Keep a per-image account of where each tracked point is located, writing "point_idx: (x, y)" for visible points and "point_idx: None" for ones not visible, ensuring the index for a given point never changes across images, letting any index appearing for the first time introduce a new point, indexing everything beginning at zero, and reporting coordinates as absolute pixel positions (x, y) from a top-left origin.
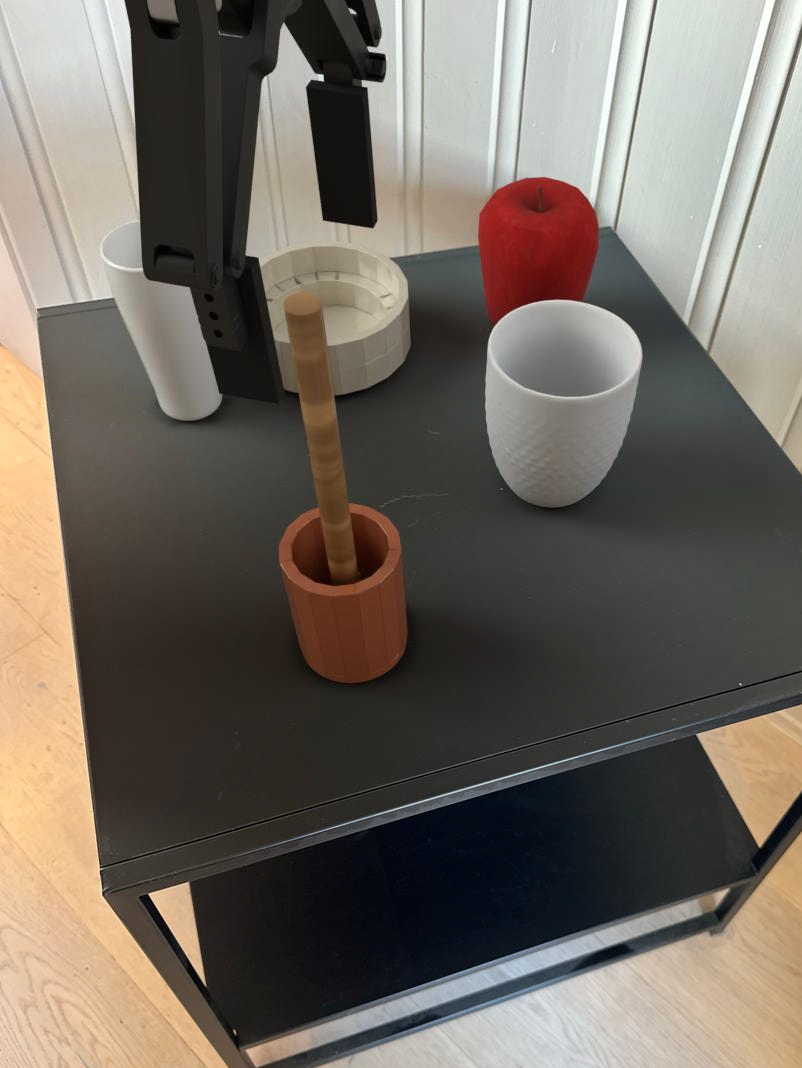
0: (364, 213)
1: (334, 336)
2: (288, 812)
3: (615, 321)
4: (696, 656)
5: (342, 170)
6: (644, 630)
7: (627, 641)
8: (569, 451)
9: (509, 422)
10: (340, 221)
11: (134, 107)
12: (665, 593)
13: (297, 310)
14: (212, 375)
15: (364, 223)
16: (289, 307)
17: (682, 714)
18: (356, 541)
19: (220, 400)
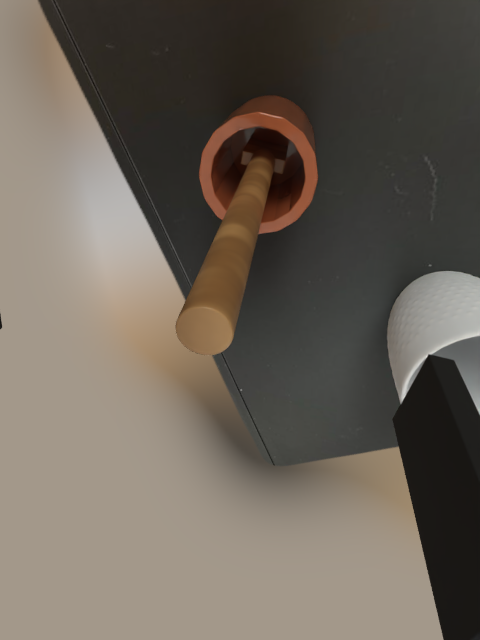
0: (402, 427)
1: None
2: (107, 109)
3: None
4: (260, 372)
5: (432, 463)
6: (279, 348)
7: (270, 338)
8: (390, 356)
9: (421, 322)
10: (416, 380)
11: None
12: (310, 363)
13: (183, 327)
14: None
15: (398, 414)
16: (191, 315)
17: (217, 359)
18: (303, 174)
19: None
